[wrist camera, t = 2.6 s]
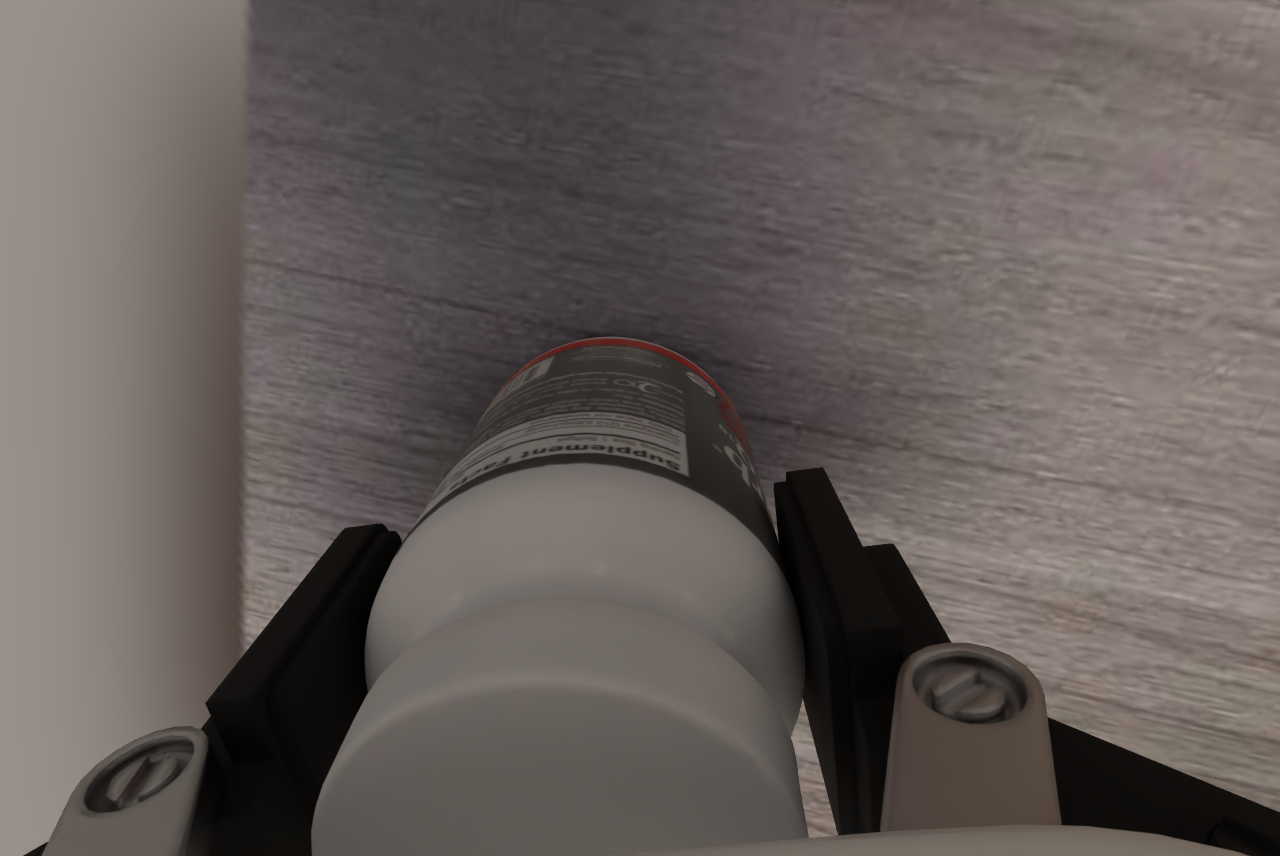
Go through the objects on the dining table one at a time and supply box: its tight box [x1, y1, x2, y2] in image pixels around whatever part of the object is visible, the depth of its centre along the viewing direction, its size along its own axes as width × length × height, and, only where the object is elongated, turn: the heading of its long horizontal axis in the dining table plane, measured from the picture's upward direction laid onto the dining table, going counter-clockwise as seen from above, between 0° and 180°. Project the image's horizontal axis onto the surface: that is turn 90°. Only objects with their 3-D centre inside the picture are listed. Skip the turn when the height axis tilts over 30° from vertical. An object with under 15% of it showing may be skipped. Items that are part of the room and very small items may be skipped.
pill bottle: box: [311, 337, 809, 856], centre depth 12 cm, size 6×6×10 cm
